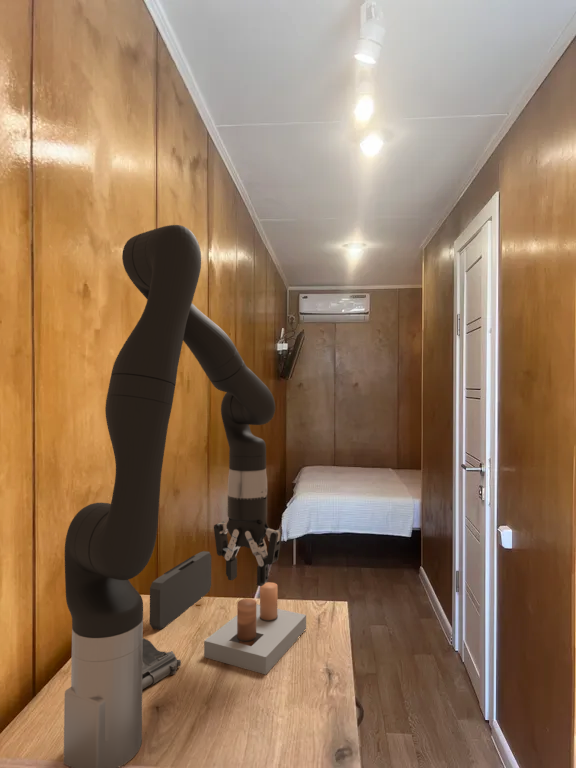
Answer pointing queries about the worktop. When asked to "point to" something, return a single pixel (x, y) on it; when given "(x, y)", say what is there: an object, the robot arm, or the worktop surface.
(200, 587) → the handheld gaming console
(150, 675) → the handgun
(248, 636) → the cherry peg
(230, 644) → the jig board
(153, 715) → the worktop surface
